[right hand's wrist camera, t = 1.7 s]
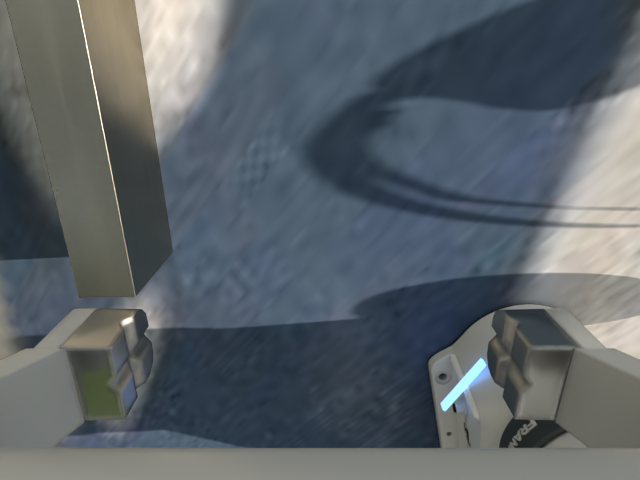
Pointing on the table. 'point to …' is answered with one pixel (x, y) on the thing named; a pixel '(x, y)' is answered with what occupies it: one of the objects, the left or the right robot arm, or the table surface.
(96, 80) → the bar
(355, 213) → the table surface
